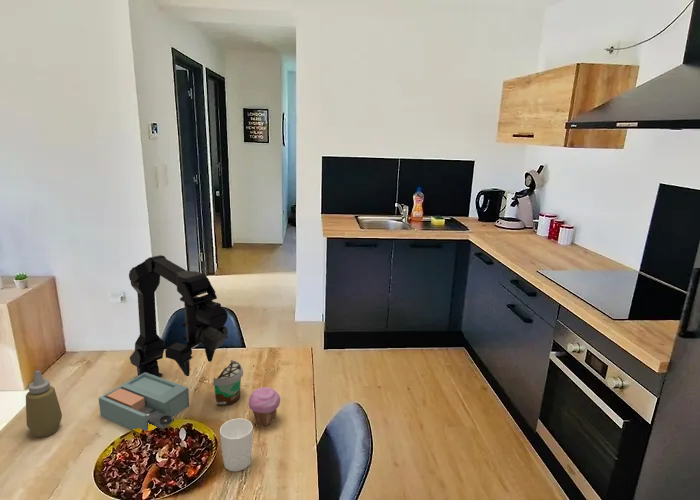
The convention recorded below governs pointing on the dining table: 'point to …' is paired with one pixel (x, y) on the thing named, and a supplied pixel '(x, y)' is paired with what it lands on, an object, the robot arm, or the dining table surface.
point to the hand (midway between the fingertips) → (198, 368)
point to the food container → (228, 385)
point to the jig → (156, 396)
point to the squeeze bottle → (42, 407)
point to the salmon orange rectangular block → (127, 399)
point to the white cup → (236, 444)
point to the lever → (156, 417)
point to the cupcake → (264, 404)
